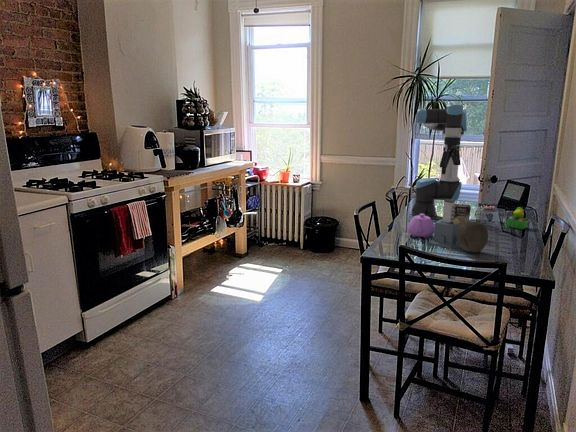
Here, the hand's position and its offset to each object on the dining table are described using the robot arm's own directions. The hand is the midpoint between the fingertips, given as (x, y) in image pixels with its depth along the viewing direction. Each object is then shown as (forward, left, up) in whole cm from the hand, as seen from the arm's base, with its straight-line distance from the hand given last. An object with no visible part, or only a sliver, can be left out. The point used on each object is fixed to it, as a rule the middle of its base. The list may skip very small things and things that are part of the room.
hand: (449, 179), depth 232 cm
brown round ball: (+18, -10, -33) cm, 38 cm away
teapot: (-13, -1, -33) cm, 35 cm away
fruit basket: (+22, +51, -33) cm, 65 cm away
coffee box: (+2, +16, -33) cm, 36 cm away
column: (+3, -4, -31) cm, 31 cm away
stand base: (+3, -4, -32) cm, 32 cm away
